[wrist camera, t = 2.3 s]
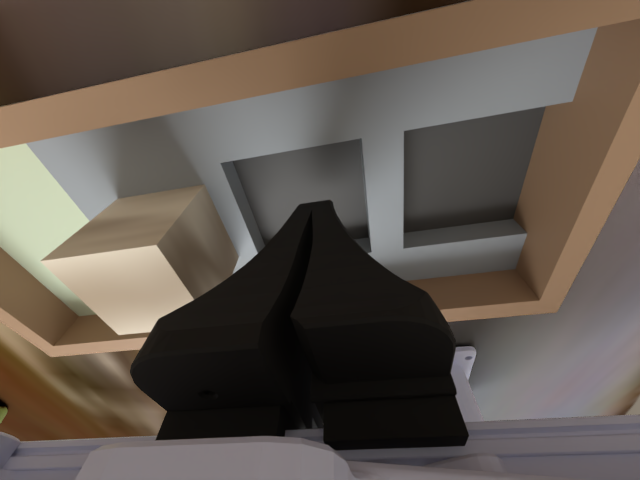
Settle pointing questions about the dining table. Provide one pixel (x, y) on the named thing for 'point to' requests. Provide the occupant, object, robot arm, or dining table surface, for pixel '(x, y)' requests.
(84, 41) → the dining table surface
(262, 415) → the robot arm
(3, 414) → the plant pot
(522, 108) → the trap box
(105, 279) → the birch cube
